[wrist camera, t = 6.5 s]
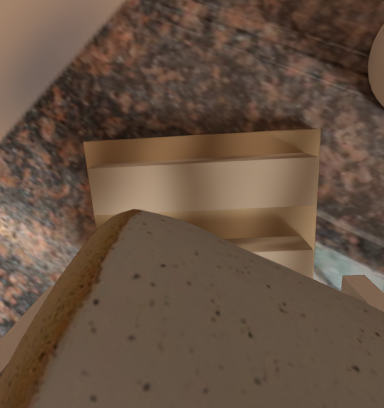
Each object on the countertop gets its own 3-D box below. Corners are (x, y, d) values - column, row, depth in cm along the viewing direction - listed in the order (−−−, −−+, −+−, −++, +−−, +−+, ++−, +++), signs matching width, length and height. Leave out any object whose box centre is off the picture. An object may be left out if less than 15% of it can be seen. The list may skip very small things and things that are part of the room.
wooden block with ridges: (312, 128, 21) (337, 130, 18) (305, 280, 25) (325, 309, 21) (91, 140, 22) (67, 144, 18) (111, 287, 25) (95, 316, 21)
